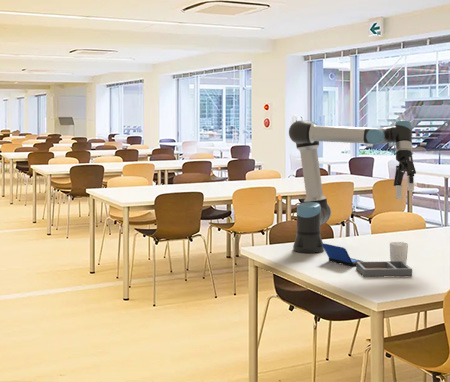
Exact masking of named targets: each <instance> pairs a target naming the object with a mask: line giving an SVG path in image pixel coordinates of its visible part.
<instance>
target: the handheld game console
mask: <svg viewBox="0 0 450 382" xmlns="http://www.w3.org/2000/svg"><path fill="white" fill-rule="evenodd" d="M323 247H324V251H325V254H326V255H327V257H328V262H330V261H332V262H331V263H334V262H336V263H335V264H339V263H341V264H340V265H342V264H343V266H345V267H346V266H347V267H349V266H350V267H349V268H353V267H356V262H365V261H364V260H361V259H360V260H359V259H356V258H352V257H350V254H349V253H348V251H347V249H346V248H345V247H344V246H343V247H341V246H338V245H333V244H328V243H325V242H324V243H323Z"/></svg>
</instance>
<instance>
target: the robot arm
mask: <svg viewBox="0 0 450 382" xmlns="http://www.w3.org/2000/svg"><path fill="white" fill-rule="evenodd" d="M412 133H413V129H412V122H411V121H409V120H407V119H399V120H397V121H395V123H394V125H393V126H386V127H358V126H357V127H355V126H336V125H335V126H332V125H331V126H330V125H318V124H317V123H316V122H314V121H312V120H309V119H308V120H307V119H305V120H296V121H294V122H293V123H291V125H290V127H289V128H288V135H289V138H290V140H291V141H292V142H293V143H295V145H296V150H298V151H299V153H300V160H301V161H300V162H301V166H302V168H301V169H302V175H303V180H304V181H303V183H304V189H305V198H304V199H303V202H301V203H299V204H298V205H297V208H296V236H295V239H294V243H293V246H292V247H293V251H294V250H295V251H294V252H296V251H297V253H301V252H304V253H303V254H314V253H315V252H318V253H322V252H324V251H325V249H324V247H323V239H322V236H321V235H322V234H321V226H322V225H325V224H326V223H327V222H328V221H329V220H330V218H331V216H332V215H331V214H332V210H331V209H332V208H331V207H330V205H329V204H328V198H327V197H326V196H325V195H324V193H323V185H322V183H323V182H322V178H321V170H320V169H321V168H320V162H319V155H318V148H319V147H320V142H324V143H325V142H327V143H328V142H329V143H344V144H345V143H346V144H364V145H365V144H366V145H373V146H378V145H380V144H381V145H382V144H388V143H395V145H394V146H395V160H396V162H398V165H396V166H395V172H394V173H395V175H394V180H393V186H394V187H395V198H396V200H402V199H403V185H402V183H403V179H404V175H405V174H406V176H407V177H406V178H407V179H406V181H407V191H411V192H414V190H415V181H414V180H415V178H414V177H415V174H417V171H416V168H415V164H414V161H413V142H412V141H413V139H412V137H413V135H412ZM315 254H316V253H315Z"/></svg>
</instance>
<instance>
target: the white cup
mask: <svg viewBox="0 0 450 382" xmlns="http://www.w3.org/2000/svg"><path fill="white" fill-rule="evenodd" d="M408 251H409V243H407V242H404V241H402V242H401V241H391V242H389V258H390V259H389V260H390V261H402V262H404V263H405V264H406V265H407V260H408Z"/></svg>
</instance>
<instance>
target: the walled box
mask: <svg viewBox="0 0 450 382" xmlns="http://www.w3.org/2000/svg"><path fill="white" fill-rule="evenodd" d="M355 268H356V270H357V271H358V272H359V274H360V275H361V276H362V275H363V276H364V277H363V278H385V277H384V276H412V277H413V268H412V267H410V266H409V265H407V263H406V264H405V263H404V262H402V261H391V260H390V261H386V260H385V261H384V260H383V261H382V260H381V261H380V260H379V261H377V260H376V261H364V262H356V266H355Z"/></svg>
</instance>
